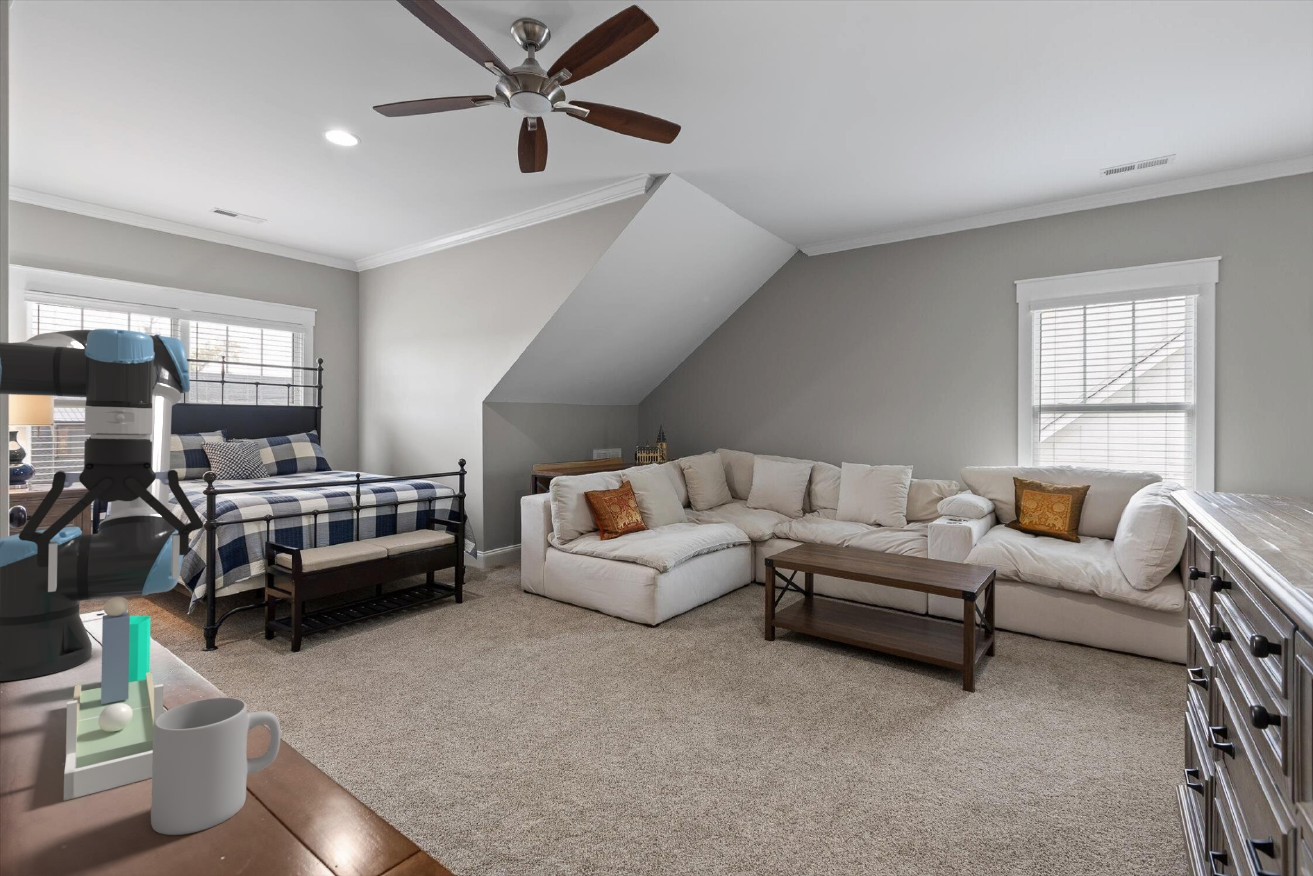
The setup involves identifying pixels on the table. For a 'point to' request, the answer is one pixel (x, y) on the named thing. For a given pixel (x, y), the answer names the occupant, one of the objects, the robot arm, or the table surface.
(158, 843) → the table surface
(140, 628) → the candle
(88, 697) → the pitch
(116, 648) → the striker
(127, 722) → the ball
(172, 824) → the mug
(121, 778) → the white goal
